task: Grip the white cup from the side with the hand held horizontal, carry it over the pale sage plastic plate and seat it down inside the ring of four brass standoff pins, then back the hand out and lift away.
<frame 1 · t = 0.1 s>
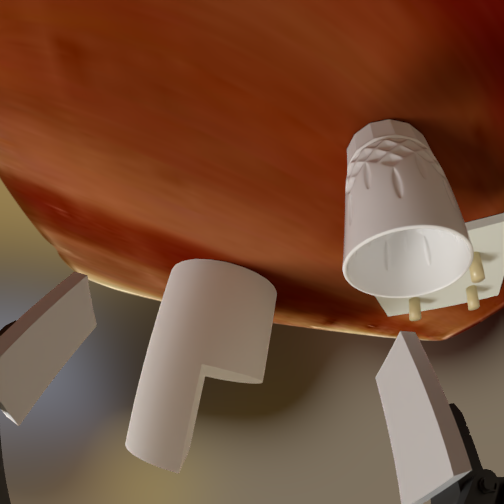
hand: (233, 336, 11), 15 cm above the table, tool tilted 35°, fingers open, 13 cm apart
standoff plate: (440, 273, 31), on the table
cylinder: (223, 285, 46), on the table
white cup: (388, 153, 19), on the table
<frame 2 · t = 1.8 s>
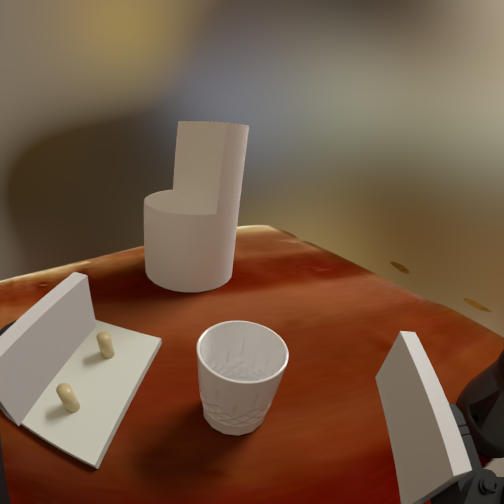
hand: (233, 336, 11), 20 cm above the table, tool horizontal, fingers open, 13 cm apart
standoff plate: (64, 371, 27), on the table
cylinder: (188, 269, 56), on the table
white cup: (233, 412, 28), on the table
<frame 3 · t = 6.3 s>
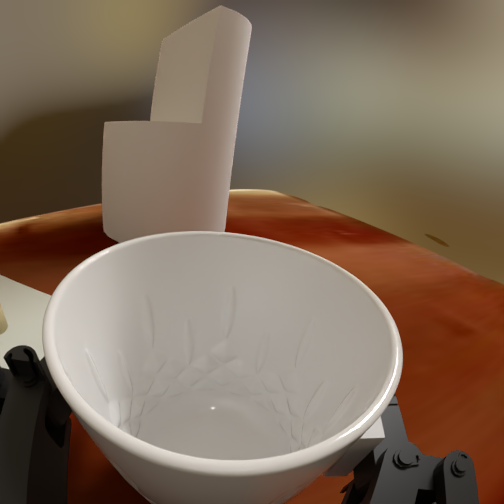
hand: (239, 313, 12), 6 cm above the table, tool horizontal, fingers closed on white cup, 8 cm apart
cylinder: (163, 224, 38), on the table
white cup: (211, 470, 10), on the table, touching gripper
when the fingers open (9 cm above the table, at t = 11.6 s): white cup drops 2 cm, resting on standoff plate.
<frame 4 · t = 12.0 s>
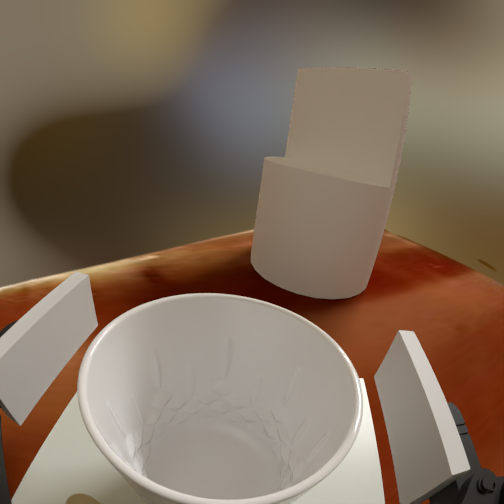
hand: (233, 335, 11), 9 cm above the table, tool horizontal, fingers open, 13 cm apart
standoff plate: (210, 488, 11), on the table
cylinder: (310, 266, 40), on the table
white cup: (212, 485, 11), point 1 cm above the table, touching standoff plate
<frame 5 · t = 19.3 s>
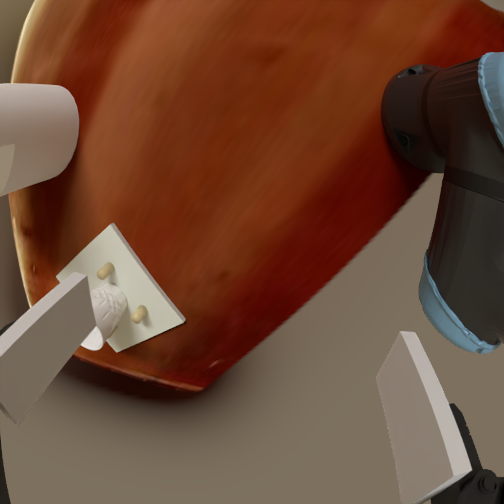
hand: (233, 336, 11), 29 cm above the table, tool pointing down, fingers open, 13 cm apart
standoff plate: (114, 295, 47), on the table
cylinder: (46, 132, 36), on the table
white cup: (112, 297, 46), point 1 cm above the table, touching standoff plate
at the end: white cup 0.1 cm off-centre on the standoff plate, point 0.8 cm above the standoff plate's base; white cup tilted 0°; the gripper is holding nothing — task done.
